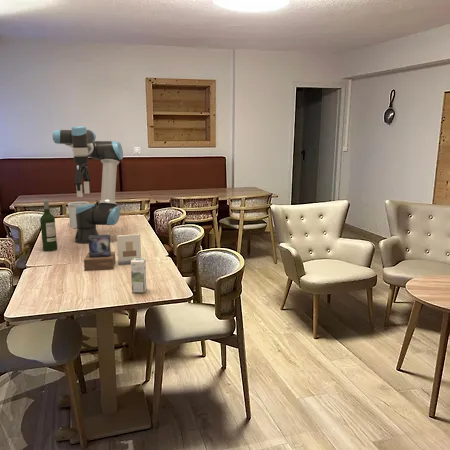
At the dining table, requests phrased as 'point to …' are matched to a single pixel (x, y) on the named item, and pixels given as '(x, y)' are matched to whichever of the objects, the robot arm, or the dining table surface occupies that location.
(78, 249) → the dining table surface
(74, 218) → the utensil holder
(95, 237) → the small box
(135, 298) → the dining table surface
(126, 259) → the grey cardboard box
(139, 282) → the syrup box
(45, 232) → the wine bottle
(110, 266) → the walnut block
